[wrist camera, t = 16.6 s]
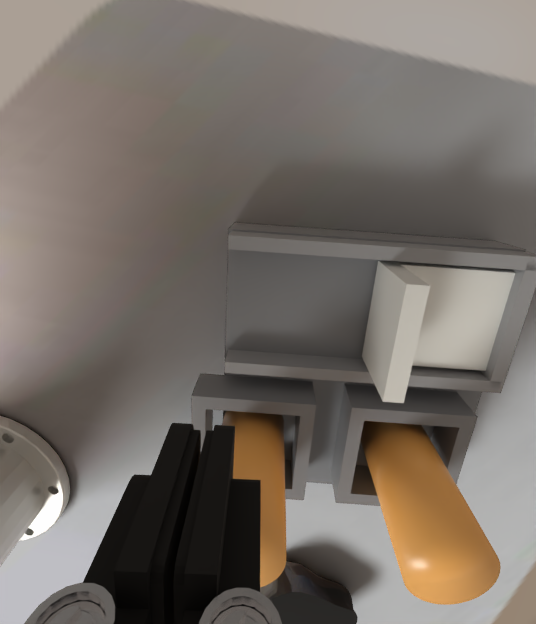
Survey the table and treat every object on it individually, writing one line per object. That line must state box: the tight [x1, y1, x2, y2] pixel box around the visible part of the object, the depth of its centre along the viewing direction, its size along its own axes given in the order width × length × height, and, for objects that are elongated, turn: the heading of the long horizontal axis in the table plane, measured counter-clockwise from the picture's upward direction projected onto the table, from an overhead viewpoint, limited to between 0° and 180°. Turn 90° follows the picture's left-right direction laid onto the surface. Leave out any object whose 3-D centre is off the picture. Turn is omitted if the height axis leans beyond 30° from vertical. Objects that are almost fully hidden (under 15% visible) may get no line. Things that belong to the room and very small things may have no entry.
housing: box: [191, 223, 536, 587], centre depth 20 cm, size 18×17×12 cm
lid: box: [362, 261, 515, 403], centre depth 19 cm, size 7×6×5 cm
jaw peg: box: [361, 421, 500, 604], centre depth 20 cm, size 4×4×9 cm
